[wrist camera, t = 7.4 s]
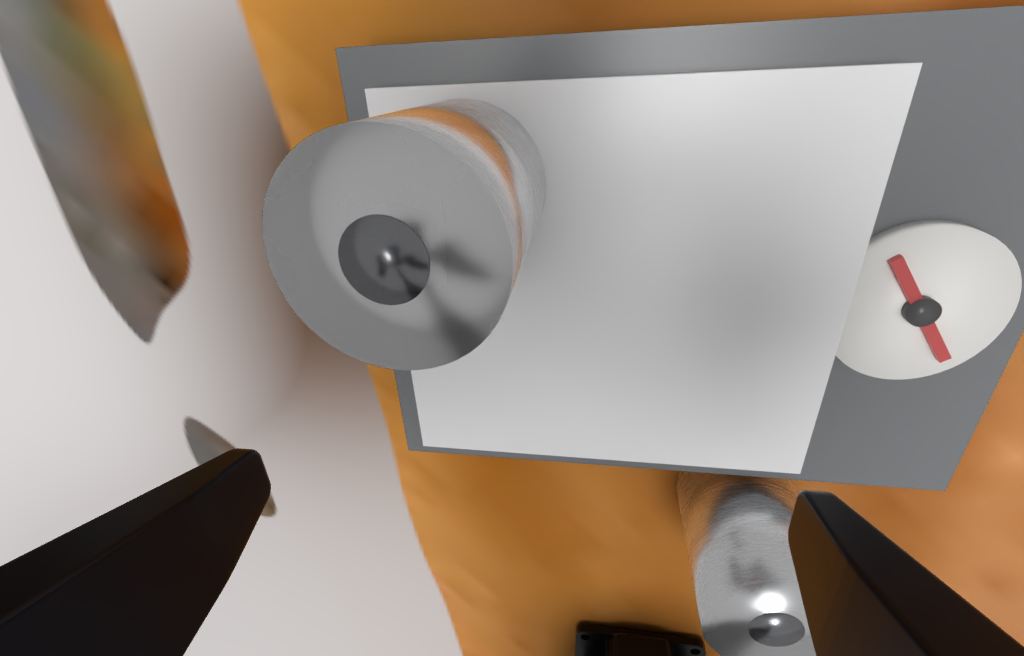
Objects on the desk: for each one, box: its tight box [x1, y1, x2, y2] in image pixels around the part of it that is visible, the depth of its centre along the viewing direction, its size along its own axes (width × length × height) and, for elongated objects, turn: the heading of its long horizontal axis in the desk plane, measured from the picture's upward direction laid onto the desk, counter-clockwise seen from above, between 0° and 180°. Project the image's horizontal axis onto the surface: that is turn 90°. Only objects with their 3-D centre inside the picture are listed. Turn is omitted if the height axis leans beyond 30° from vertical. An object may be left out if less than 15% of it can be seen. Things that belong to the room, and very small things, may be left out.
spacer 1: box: [262, 98, 547, 370], centre depth 11 cm, size 4×4×6 cm
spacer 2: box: [676, 471, 816, 656], centre depth 18 cm, size 4×4×6 cm
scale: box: [335, 6, 1024, 491], centre depth 16 cm, size 14×19×3 cm
